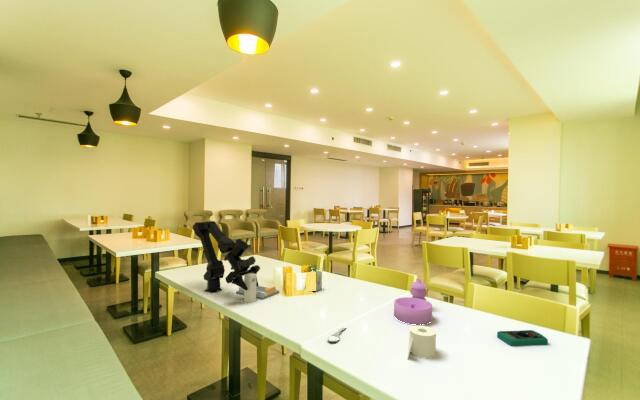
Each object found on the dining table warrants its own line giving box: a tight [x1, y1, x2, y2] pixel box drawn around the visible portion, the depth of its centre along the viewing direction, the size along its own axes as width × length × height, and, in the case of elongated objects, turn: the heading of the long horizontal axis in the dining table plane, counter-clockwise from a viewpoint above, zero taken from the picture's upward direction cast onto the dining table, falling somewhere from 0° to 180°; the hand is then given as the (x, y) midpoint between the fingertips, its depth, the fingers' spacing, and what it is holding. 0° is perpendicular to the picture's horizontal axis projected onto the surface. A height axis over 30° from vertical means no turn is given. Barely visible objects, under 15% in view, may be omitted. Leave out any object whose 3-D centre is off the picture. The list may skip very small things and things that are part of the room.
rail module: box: [243, 273, 258, 304], centre depth 147 cm, size 4×4×13 cm
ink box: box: [308, 264, 323, 292], centre depth 166 cm, size 7×4×13 cm, turn 143°
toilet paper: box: [406, 325, 437, 359], centre depth 100 cm, size 8×11×7 cm
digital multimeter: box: [496, 329, 549, 347], centre depth 110 cm, size 7×15×3 cm, turn 97°
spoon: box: [327, 327, 346, 343], centre depth 114 cm, size 4×21×2 cm, turn 155°
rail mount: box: [235, 284, 280, 301], centre depth 160 cm, size 18×13×4 cm
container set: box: [393, 278, 433, 326], centre depth 134 cm, size 25×15×13 cm, turn 152°
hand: (252, 288), depth 146 cm, fingers open, 7 cm apart
